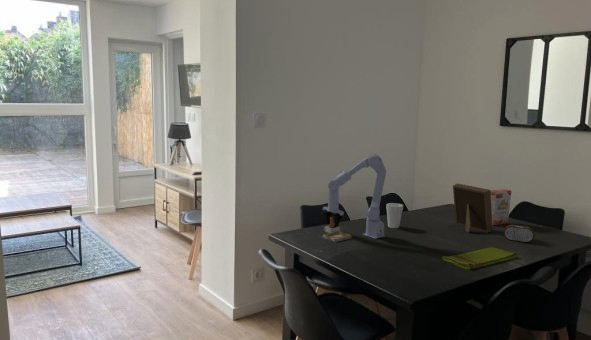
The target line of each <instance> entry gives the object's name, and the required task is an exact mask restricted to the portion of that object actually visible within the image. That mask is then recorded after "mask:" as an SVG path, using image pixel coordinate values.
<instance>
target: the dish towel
mask: <svg viewBox="0 0 591 340" xmlns="http://www.w3.org/2000/svg"><path fill="white" fill-rule="evenodd" d="M517 254H518V252H510V251H506V250H503V249H501V248H496V247H487V248H481V249H478V250H473V251H470V252H465V253H460V254H454V255H448V256H442V257H441V258H442V261H445V262H447V263H450V264H452V265H454V266H455V267H459V268H461V269H465V270H468V271H470V270H473V269H477V268H481V267H482V268H483V267H486V266H490V265H491V266H492V265H494V264H498V263H503V262H507V261H510V259H511V260H513V259H517V258H518V255H517ZM506 260H507V261H506Z"/></svg>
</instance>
